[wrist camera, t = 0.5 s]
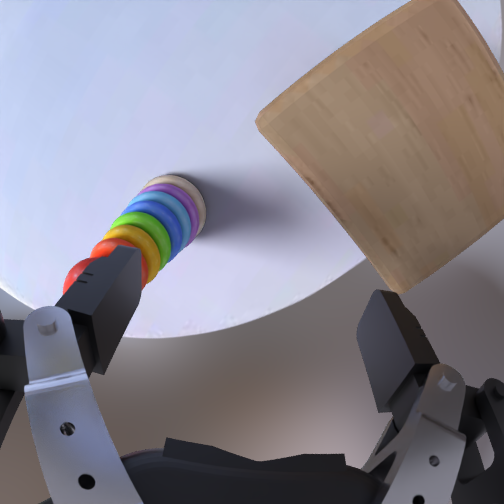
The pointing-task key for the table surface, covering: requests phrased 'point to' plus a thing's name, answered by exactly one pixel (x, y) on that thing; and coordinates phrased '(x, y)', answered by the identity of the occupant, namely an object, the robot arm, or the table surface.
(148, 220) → the stacking toy
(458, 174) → the wooden block
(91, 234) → the table surface
